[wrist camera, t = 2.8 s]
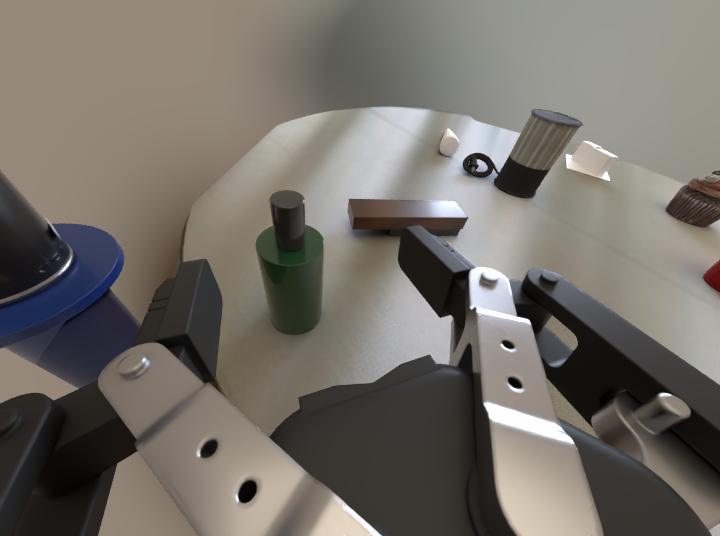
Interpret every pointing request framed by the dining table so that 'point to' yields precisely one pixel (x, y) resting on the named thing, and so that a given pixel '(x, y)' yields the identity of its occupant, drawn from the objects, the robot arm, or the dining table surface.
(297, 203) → the green bottle
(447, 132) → the unicorn horn
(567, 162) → the napkin holder
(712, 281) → the plastic cup
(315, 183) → the dining table surface
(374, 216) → the brush
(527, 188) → the milk frother
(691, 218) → the cupcake
